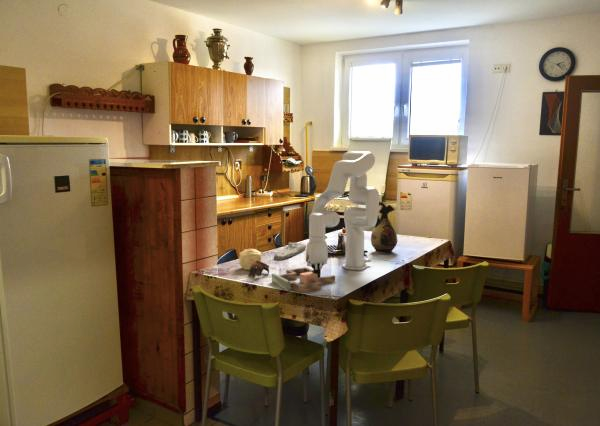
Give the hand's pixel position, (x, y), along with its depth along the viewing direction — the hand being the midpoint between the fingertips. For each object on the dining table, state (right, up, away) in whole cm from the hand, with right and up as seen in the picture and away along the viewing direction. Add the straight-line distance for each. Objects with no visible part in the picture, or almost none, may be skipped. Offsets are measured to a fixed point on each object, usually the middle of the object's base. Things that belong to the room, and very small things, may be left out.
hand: (317, 277), depth 234 cm
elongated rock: (-14, +6, +55) cm, 57 cm away
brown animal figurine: (-28, -1, +8) cm, 29 cm away
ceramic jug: (+41, +7, +58) cm, 71 cm away
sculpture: (-34, +1, +21) cm, 40 cm away
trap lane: (-6, -2, -3) cm, 7 cm away
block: (-4, -2, -3) cm, 5 cm away
